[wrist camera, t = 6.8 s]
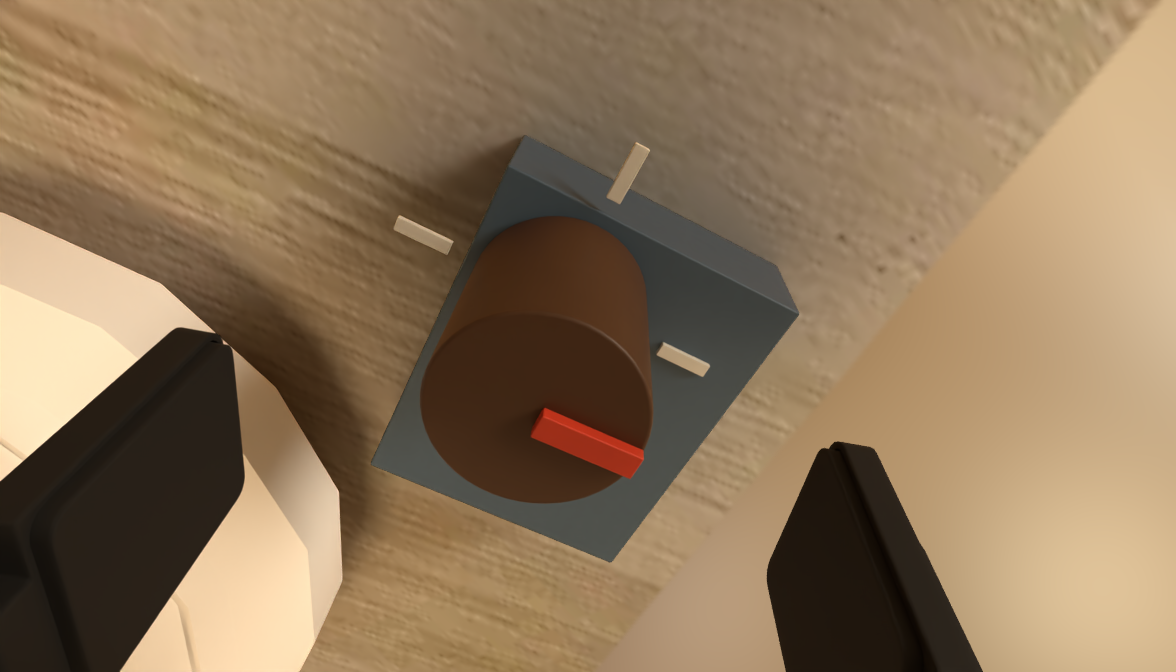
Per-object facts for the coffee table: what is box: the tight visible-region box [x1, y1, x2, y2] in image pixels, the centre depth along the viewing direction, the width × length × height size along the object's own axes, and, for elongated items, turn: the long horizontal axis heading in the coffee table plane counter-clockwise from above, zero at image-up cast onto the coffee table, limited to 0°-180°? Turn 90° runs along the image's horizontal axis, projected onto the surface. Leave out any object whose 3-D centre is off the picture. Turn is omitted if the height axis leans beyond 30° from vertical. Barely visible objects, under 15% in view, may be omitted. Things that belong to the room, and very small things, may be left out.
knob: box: [420, 216, 653, 504], centre depth 15 cm, size 4×4×5 cm
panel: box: [371, 135, 799, 562], centre depth 20 cm, size 12×10×3 cm
